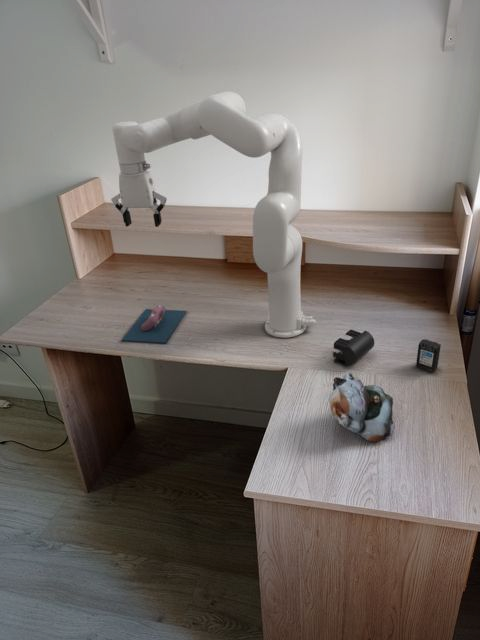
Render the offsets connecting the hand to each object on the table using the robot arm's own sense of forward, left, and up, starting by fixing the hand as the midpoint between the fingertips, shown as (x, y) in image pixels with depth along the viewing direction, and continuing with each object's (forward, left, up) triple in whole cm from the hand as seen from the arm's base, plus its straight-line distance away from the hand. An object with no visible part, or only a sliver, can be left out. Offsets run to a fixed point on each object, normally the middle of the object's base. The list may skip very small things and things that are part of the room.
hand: (143, 225), depth 160 cm
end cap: (-66, +25, -28) cm, 76 cm away
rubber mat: (-4, +13, -28) cm, 31 cm away
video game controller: (-4, +13, -28) cm, 31 cm away
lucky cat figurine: (-69, +53, -28) cm, 92 cm away
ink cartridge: (-85, +28, -28) cm, 94 cm away
